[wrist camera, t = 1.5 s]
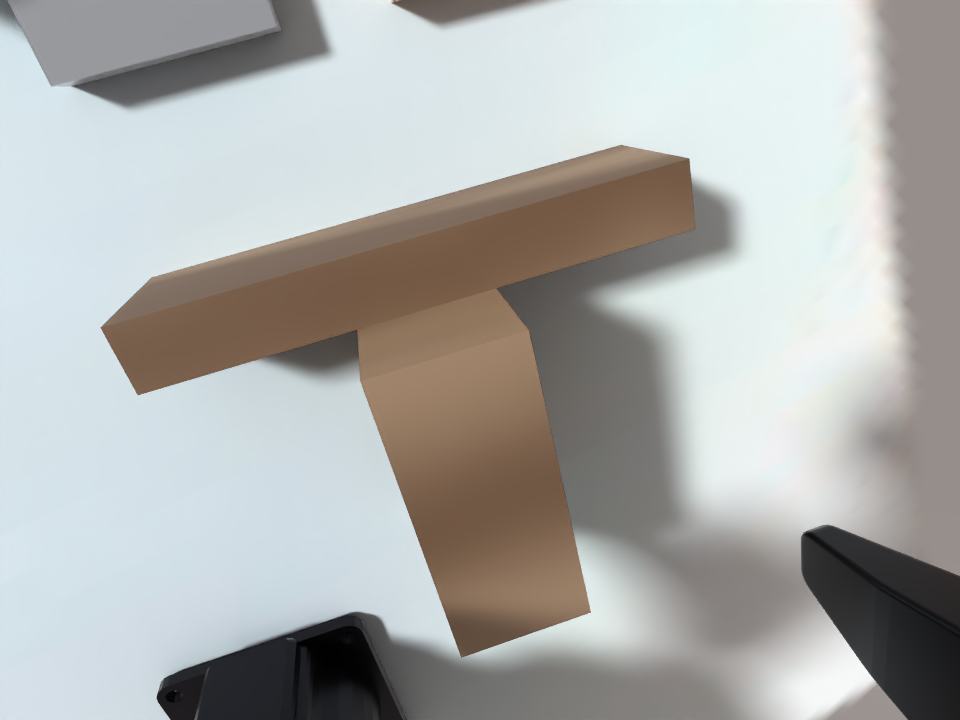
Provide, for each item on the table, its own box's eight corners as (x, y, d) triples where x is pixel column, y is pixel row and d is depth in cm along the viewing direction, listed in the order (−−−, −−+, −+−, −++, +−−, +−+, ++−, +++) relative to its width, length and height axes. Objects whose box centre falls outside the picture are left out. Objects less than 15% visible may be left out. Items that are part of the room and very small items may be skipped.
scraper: (656, 421, 19) (776, 547, 14) (282, 542, 18) (257, 728, 13) (620, 144, 16) (763, 172, 10) (152, 277, 15) (42, 384, 9)
